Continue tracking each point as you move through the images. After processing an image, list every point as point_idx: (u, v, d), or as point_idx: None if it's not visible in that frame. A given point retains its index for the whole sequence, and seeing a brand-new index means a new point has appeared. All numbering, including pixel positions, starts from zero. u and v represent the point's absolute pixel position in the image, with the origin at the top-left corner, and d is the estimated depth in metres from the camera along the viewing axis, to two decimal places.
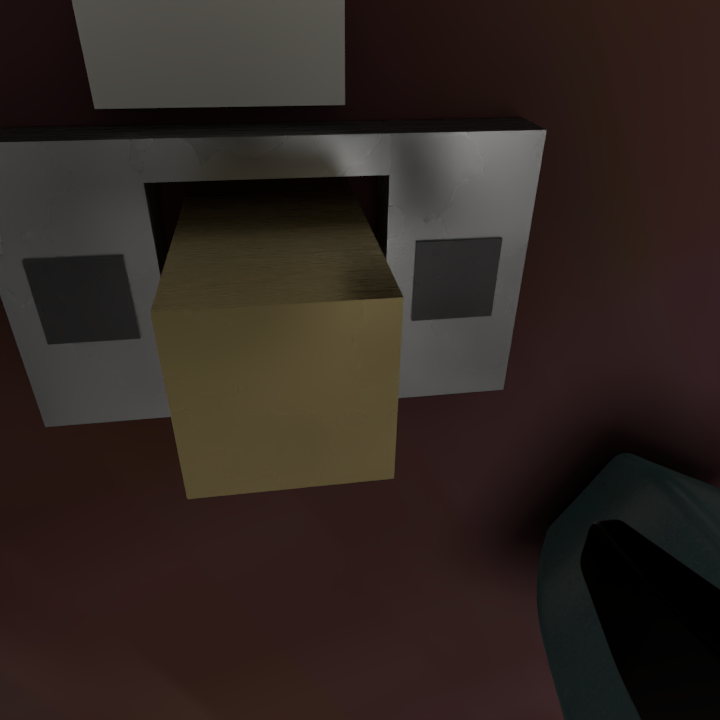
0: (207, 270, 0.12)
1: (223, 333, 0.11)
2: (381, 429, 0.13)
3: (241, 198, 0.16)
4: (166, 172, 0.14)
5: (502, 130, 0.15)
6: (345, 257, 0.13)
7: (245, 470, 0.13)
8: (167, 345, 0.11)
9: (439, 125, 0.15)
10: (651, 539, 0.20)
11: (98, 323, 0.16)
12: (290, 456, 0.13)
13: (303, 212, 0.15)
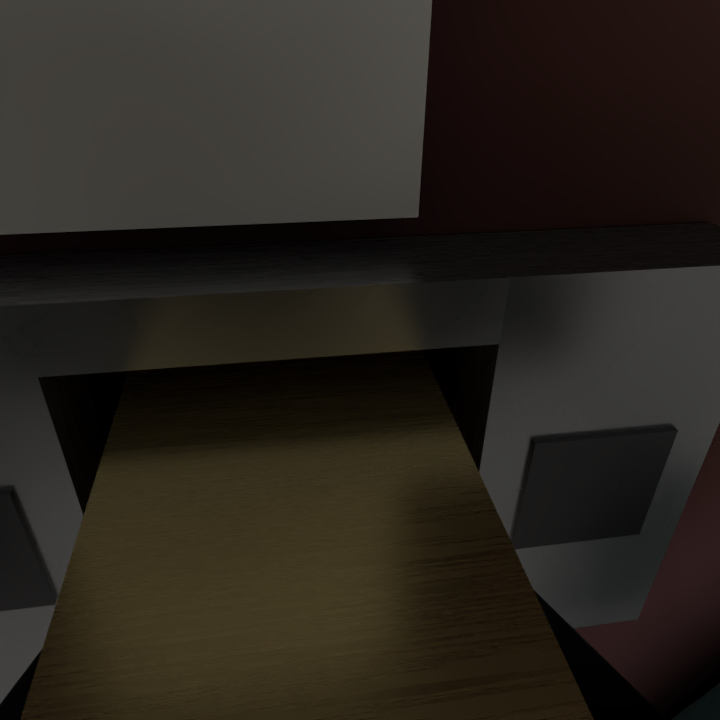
0: (140, 682, 0.05)
1: None
2: None
3: (229, 375, 0.09)
4: (81, 358, 0.07)
5: (707, 263, 0.08)
6: (455, 611, 0.06)
7: None
8: None
9: (585, 249, 0.09)
10: None
11: None
12: None
13: (343, 420, 0.08)
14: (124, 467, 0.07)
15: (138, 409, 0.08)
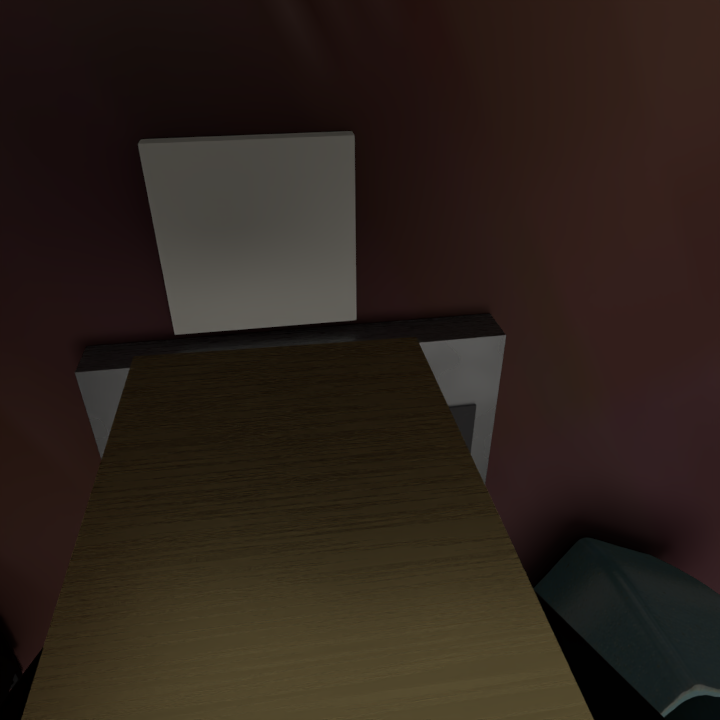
0: (140, 682, 0.05)
1: None
2: None
3: (229, 375, 0.09)
4: None
5: (473, 336, 0.20)
6: (456, 611, 0.06)
7: None
8: None
9: (426, 330, 0.21)
10: (601, 620, 0.25)
11: None
12: None
13: (343, 420, 0.08)
14: (124, 467, 0.07)
15: (138, 409, 0.08)
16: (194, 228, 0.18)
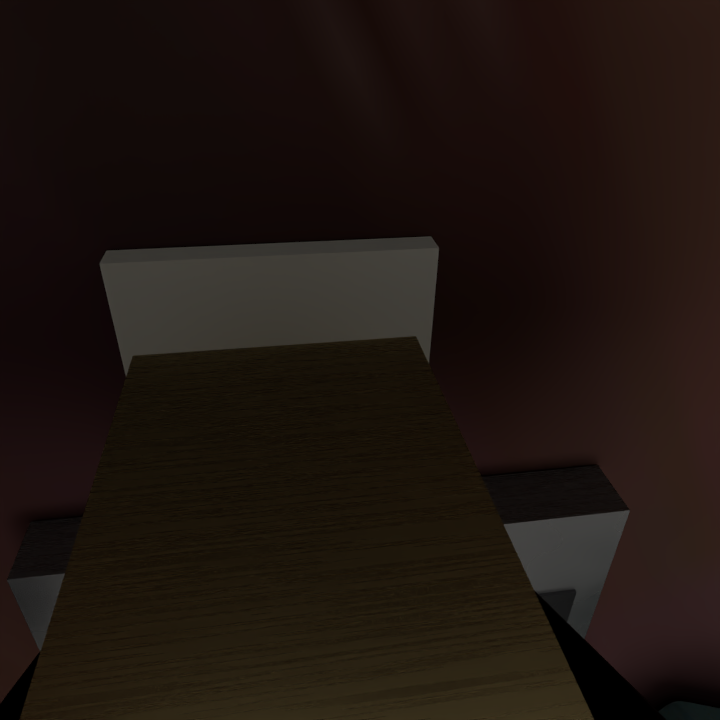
0: (138, 682, 0.05)
1: None
2: None
3: (229, 374, 0.09)
4: None
5: (583, 512, 0.14)
6: (456, 611, 0.06)
7: None
8: None
9: (515, 497, 0.15)
10: None
11: None
12: None
13: (343, 420, 0.08)
14: (124, 467, 0.07)
15: (138, 409, 0.08)
16: None
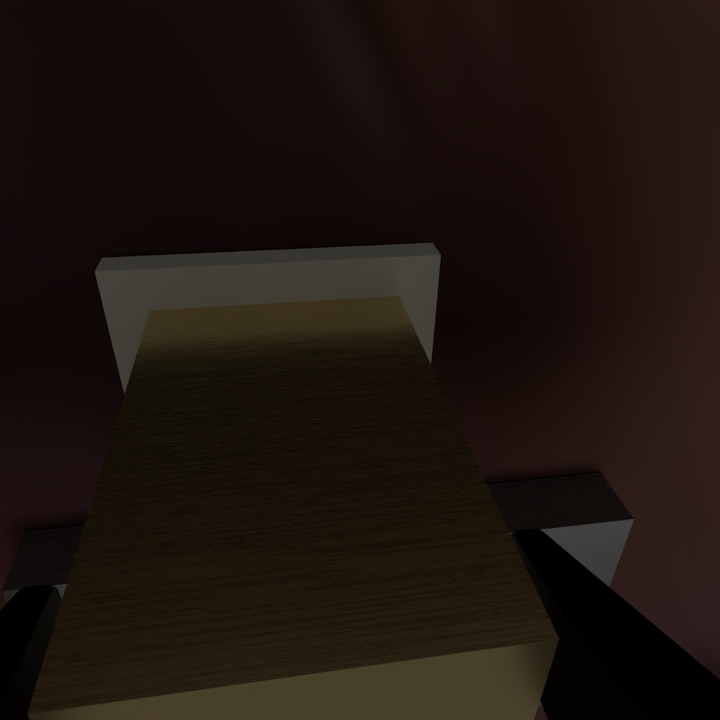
0: (165, 538, 0.06)
1: None
2: None
3: (234, 325, 0.10)
4: None
5: (587, 521, 0.14)
6: (420, 493, 0.07)
7: None
8: None
9: (517, 506, 0.15)
10: None
11: None
12: None
13: (332, 359, 0.09)
14: (146, 393, 0.09)
15: (156, 351, 0.09)
16: None
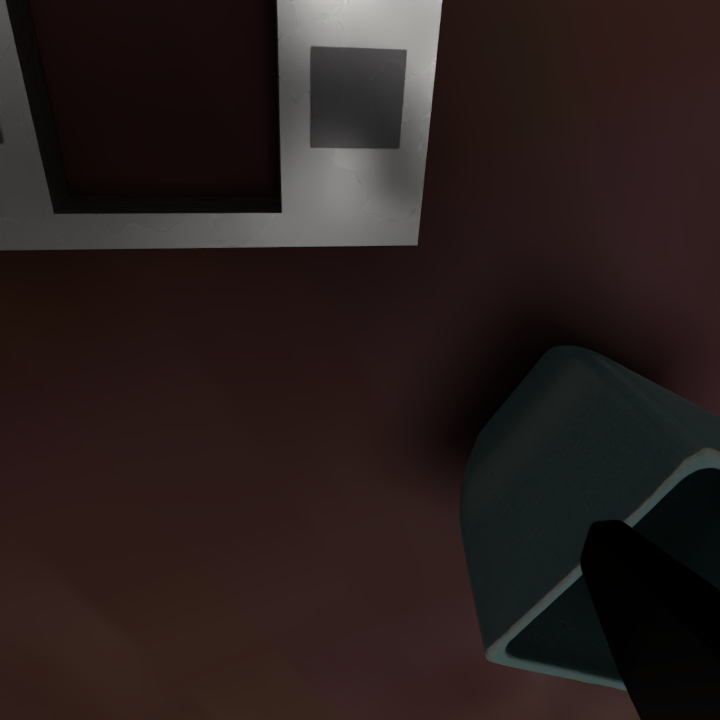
0: None
1: None
2: None
3: None
4: None
5: None
6: None
7: None
8: None
9: None
10: (573, 413, 0.18)
11: None
12: None
13: None
14: None
15: None
16: None
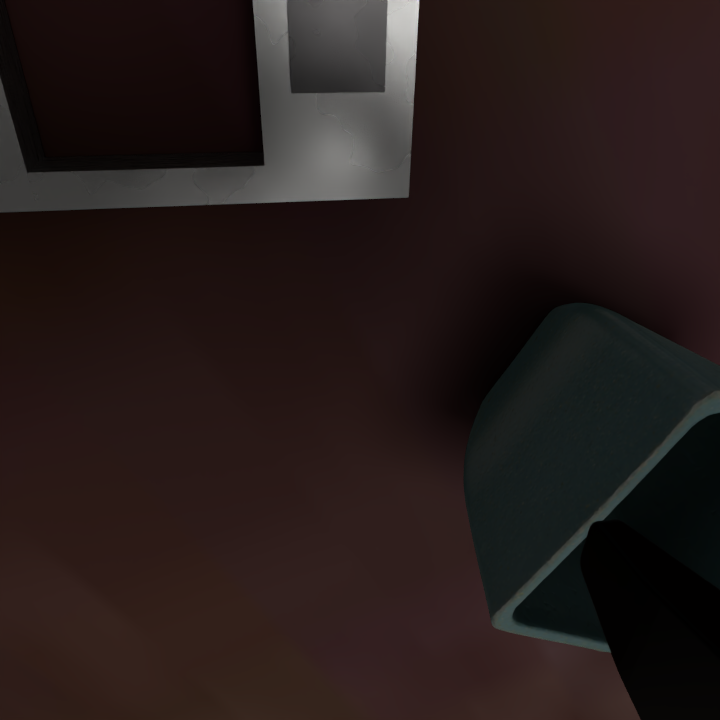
0: None
1: None
2: None
3: None
4: None
5: None
6: None
7: None
8: None
9: None
10: (577, 368, 0.17)
11: None
12: None
13: None
14: None
15: None
16: None
